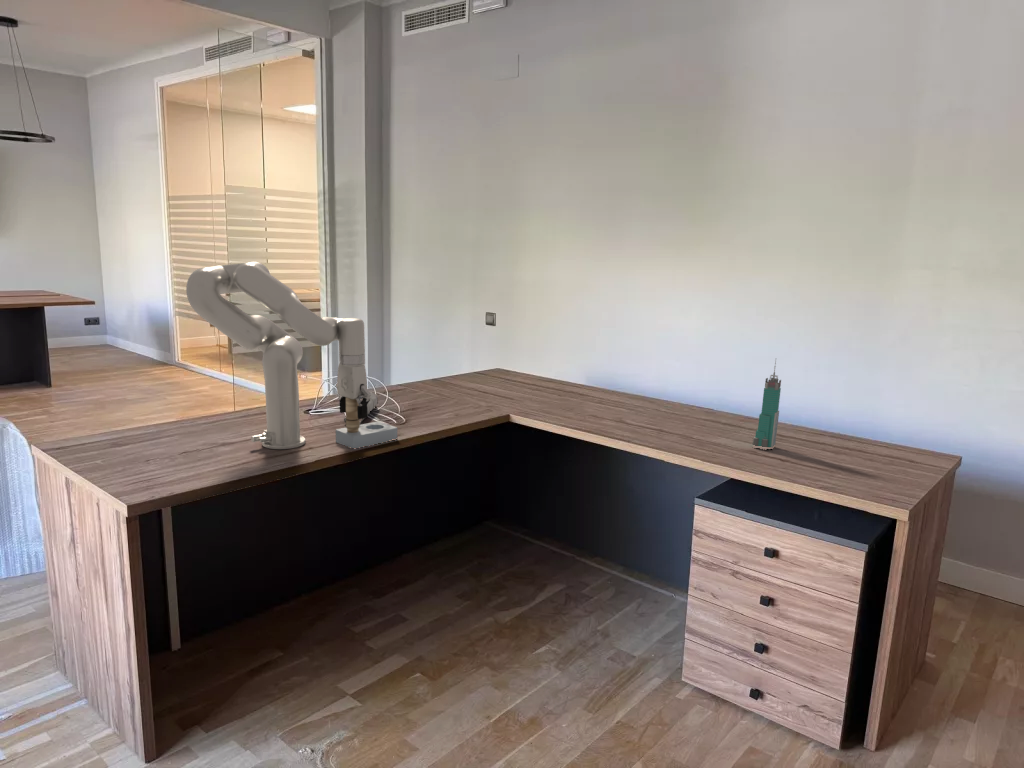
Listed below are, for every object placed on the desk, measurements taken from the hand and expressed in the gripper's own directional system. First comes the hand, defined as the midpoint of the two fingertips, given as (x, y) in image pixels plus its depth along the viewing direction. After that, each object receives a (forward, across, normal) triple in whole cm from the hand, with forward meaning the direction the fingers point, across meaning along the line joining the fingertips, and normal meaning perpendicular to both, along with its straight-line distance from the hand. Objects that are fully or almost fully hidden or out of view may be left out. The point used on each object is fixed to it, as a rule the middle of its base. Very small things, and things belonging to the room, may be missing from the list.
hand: (353, 415), depth 214 cm
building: (+11, +85, +99) cm, 131 cm away
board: (+9, 0, +5) cm, 10 cm away
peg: (+5, 0, 0) cm, 5 cm away
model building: (+10, -26, +20) cm, 35 cm away
